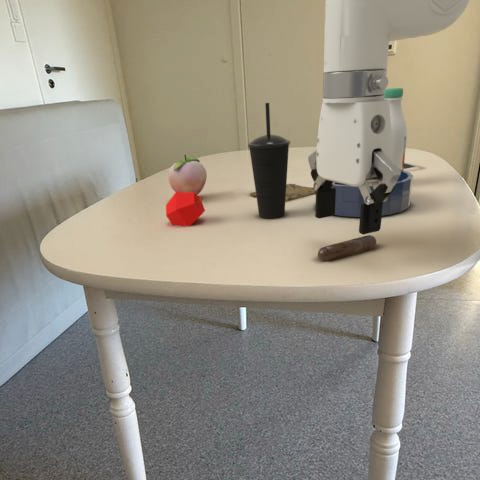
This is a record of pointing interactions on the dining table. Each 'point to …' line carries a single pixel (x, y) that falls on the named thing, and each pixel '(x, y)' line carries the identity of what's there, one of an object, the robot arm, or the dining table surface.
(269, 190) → the drinking cup
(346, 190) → the bowl
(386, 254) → the dining table surface
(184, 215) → the red faceted polyhedron
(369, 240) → the stick
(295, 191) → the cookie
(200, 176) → the decorative fruit
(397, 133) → the milk bottle
